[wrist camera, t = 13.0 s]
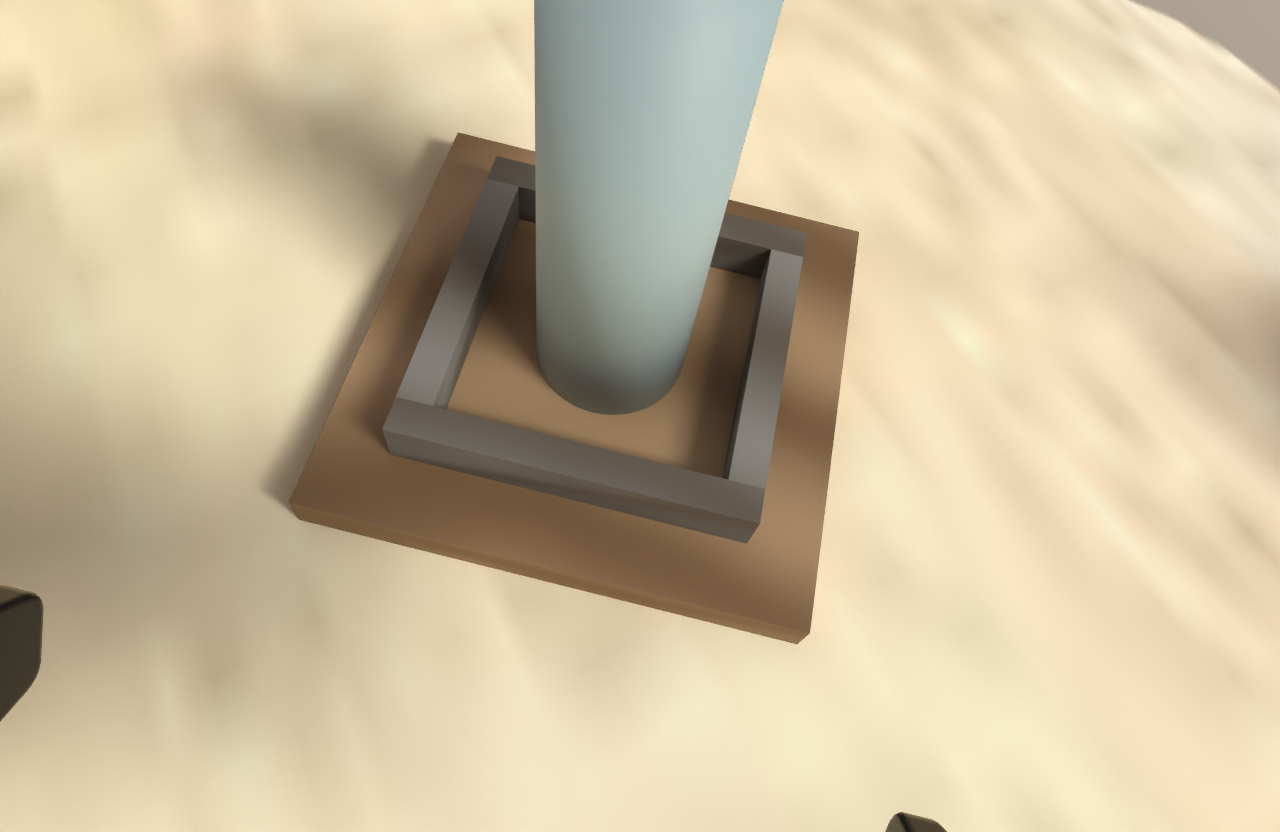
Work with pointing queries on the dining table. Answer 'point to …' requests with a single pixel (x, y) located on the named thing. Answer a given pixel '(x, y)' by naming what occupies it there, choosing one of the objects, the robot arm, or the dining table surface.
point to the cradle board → (595, 416)
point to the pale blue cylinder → (634, 181)
